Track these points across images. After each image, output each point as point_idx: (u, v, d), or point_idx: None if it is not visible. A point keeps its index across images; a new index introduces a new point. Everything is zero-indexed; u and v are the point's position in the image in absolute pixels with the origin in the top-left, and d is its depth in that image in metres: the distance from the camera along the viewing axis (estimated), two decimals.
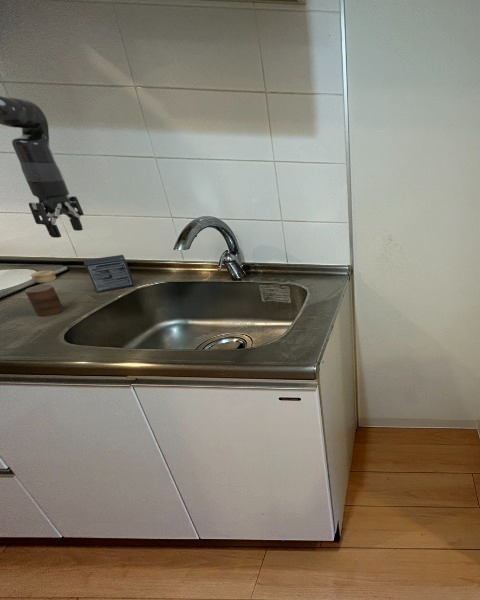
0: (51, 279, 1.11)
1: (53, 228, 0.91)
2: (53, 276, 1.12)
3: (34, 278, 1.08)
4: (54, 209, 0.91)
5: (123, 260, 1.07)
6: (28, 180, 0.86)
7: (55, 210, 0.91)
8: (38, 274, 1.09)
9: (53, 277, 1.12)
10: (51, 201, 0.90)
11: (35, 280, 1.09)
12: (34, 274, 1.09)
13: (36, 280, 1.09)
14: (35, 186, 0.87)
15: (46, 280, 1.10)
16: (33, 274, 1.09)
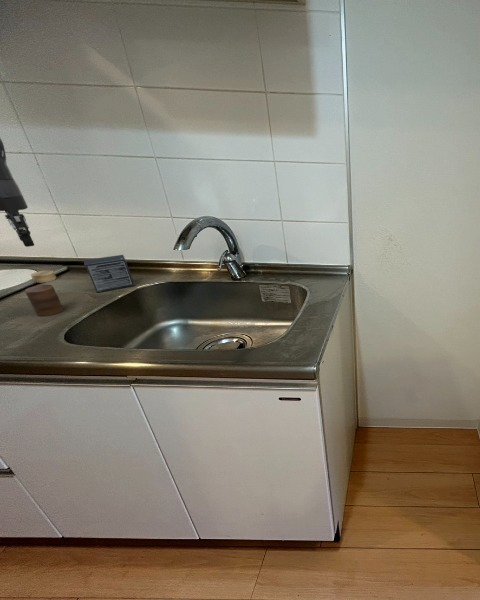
0: (51, 279, 1.11)
1: (28, 237, 1.02)
2: (53, 276, 1.12)
3: (34, 278, 1.08)
4: (23, 220, 1.01)
5: (123, 260, 1.07)
6: None
7: (25, 221, 1.02)
8: (38, 274, 1.09)
9: (53, 277, 1.12)
10: (19, 214, 1.00)
11: (35, 280, 1.09)
12: (34, 274, 1.09)
13: (36, 280, 1.09)
14: (7, 201, 0.97)
15: (46, 280, 1.10)
16: (33, 274, 1.09)
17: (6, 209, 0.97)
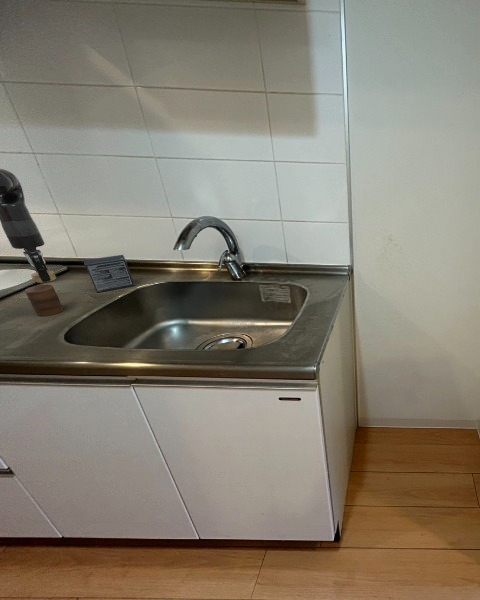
0: (51, 279, 1.11)
1: None
2: (53, 276, 1.12)
3: (34, 278, 1.08)
4: None
5: (123, 260, 1.07)
6: (17, 236, 1.01)
7: (42, 257, 1.07)
8: (38, 274, 1.09)
9: (53, 277, 1.12)
10: (37, 250, 1.06)
11: (35, 280, 1.09)
12: (34, 274, 1.09)
13: (36, 280, 1.09)
14: (26, 240, 1.02)
15: None
16: (33, 274, 1.09)
17: (25, 247, 1.03)
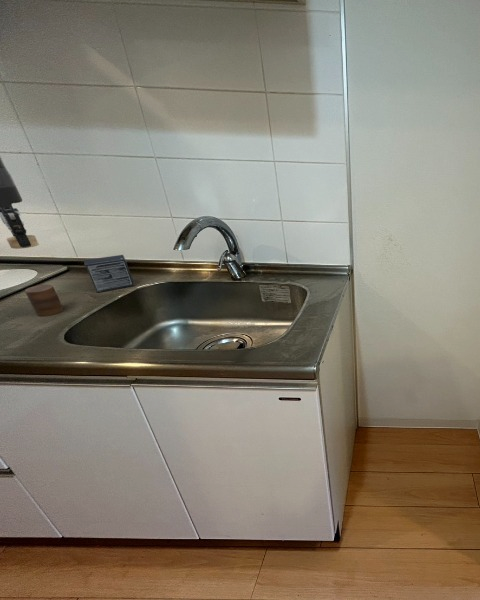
0: (32, 245, 0.92)
1: (24, 237, 0.89)
2: (34, 241, 0.92)
3: (11, 243, 0.89)
4: (18, 217, 0.88)
5: (123, 260, 1.07)
6: None
7: None
8: None
9: (34, 243, 0.92)
10: (13, 208, 0.87)
11: (12, 245, 0.89)
12: (11, 238, 0.90)
13: (13, 245, 0.89)
14: None
15: None
16: (10, 238, 0.90)
17: None
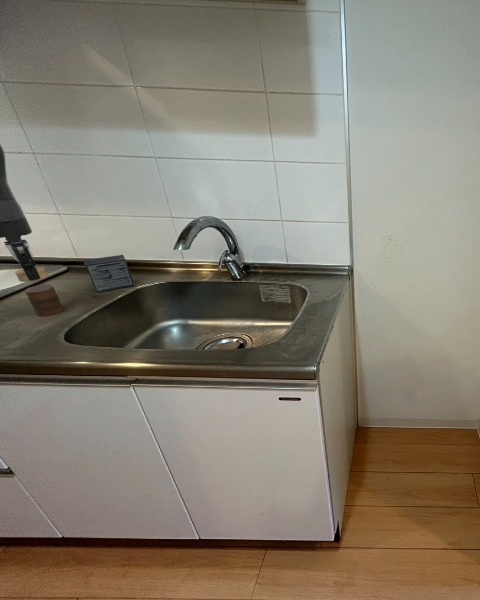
0: (41, 277, 0.87)
1: (33, 270, 0.85)
2: (44, 273, 0.88)
3: (19, 276, 0.85)
4: (27, 249, 0.84)
5: (123, 260, 1.07)
6: None
7: (29, 249, 0.84)
8: None
9: (44, 275, 0.88)
10: (22, 240, 0.82)
11: (20, 278, 0.85)
12: (19, 271, 0.85)
13: (22, 278, 0.85)
14: (6, 226, 0.79)
15: None
16: (18, 271, 0.85)
17: (6, 235, 0.79)
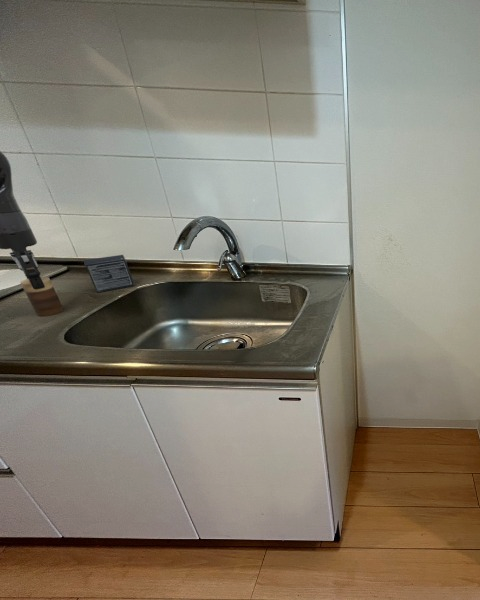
0: (46, 288, 0.89)
1: None
2: (49, 284, 0.89)
3: (25, 287, 0.86)
4: (32, 259, 0.85)
5: (123, 260, 1.07)
6: (2, 232, 0.79)
7: (34, 260, 0.85)
8: None
9: (49, 285, 0.89)
10: (27, 251, 0.84)
11: (26, 289, 0.86)
12: (25, 282, 0.87)
13: (27, 289, 0.86)
14: (12, 237, 0.80)
15: (40, 289, 0.88)
16: (23, 282, 0.87)
17: (12, 247, 0.81)
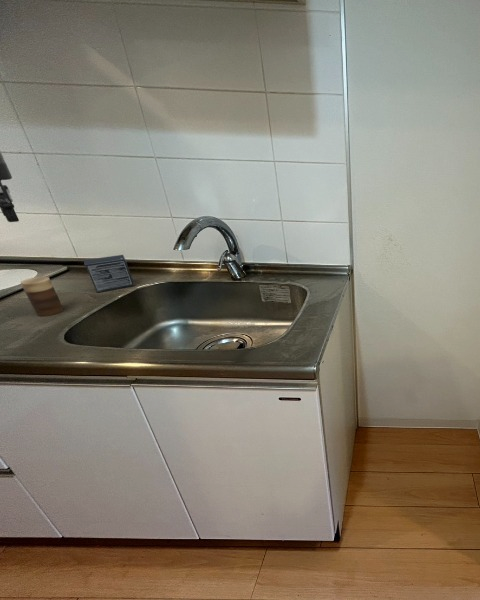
0: (46, 288, 0.89)
1: None
2: (49, 284, 0.89)
3: (25, 287, 0.86)
4: (7, 192, 0.90)
5: (123, 260, 1.07)
6: None
7: (8, 193, 0.90)
8: (30, 282, 0.87)
9: (49, 285, 0.89)
10: None
11: (26, 289, 0.86)
12: (25, 282, 0.87)
13: (27, 289, 0.86)
14: None
15: (40, 289, 0.88)
16: (23, 282, 0.87)
17: None
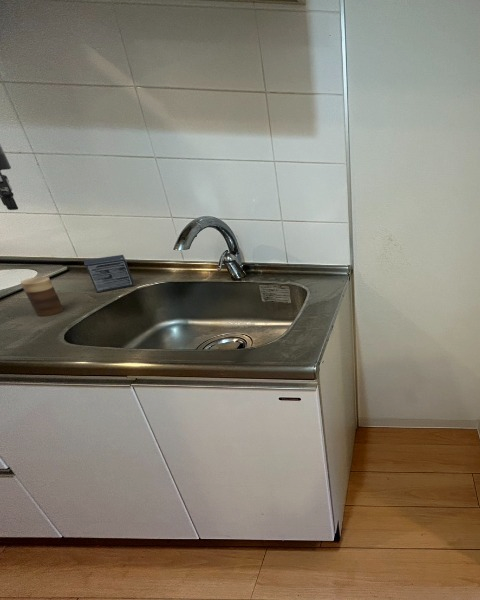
0: (46, 288, 0.89)
1: None
2: (49, 284, 0.89)
3: (25, 287, 0.86)
4: (6, 182, 0.95)
5: (123, 260, 1.07)
6: None
7: (8, 182, 0.95)
8: (30, 282, 0.87)
9: (49, 285, 0.89)
10: (1, 174, 0.94)
11: (26, 289, 0.86)
12: (25, 282, 0.87)
13: (27, 289, 0.86)
14: None
15: (40, 289, 0.88)
16: (23, 282, 0.87)
17: None
